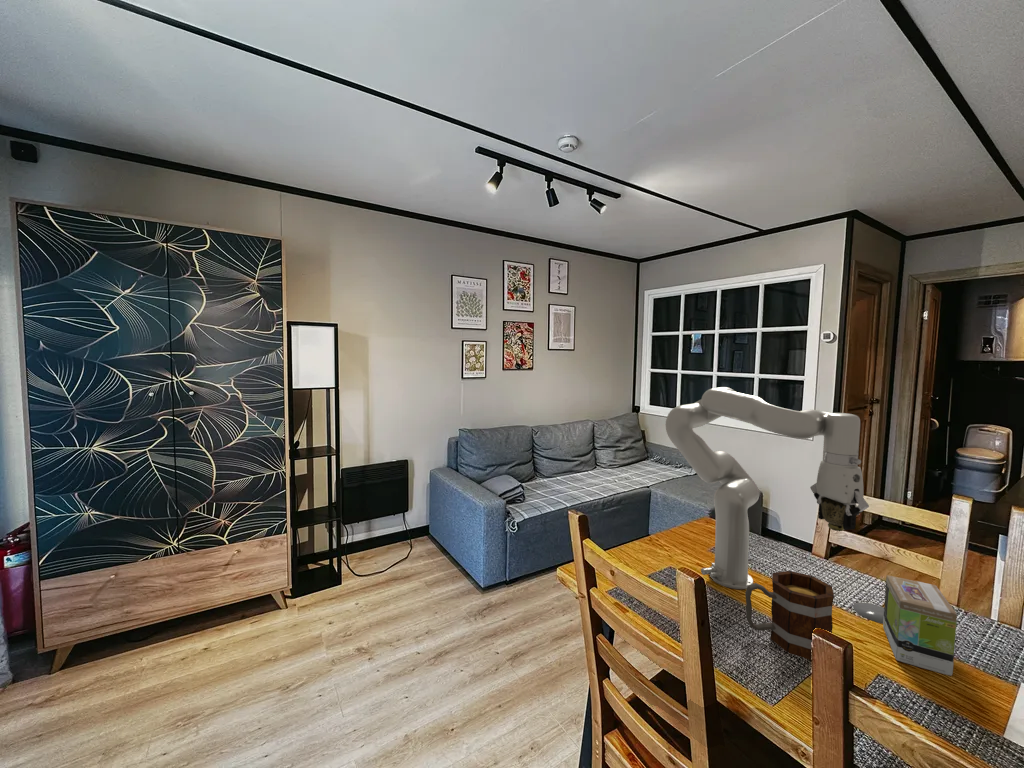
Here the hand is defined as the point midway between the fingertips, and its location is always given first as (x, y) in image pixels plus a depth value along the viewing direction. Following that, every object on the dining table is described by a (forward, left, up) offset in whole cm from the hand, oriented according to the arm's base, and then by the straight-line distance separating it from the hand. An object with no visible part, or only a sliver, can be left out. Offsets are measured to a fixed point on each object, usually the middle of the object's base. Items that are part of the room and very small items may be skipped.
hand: (836, 523), depth 116 cm
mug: (-21, -6, -26) cm, 34 cm away
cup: (0, 0, -2) cm, 2 cm away
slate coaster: (+13, -1, -27) cm, 30 cm away
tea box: (+7, -15, -26) cm, 31 cm away
